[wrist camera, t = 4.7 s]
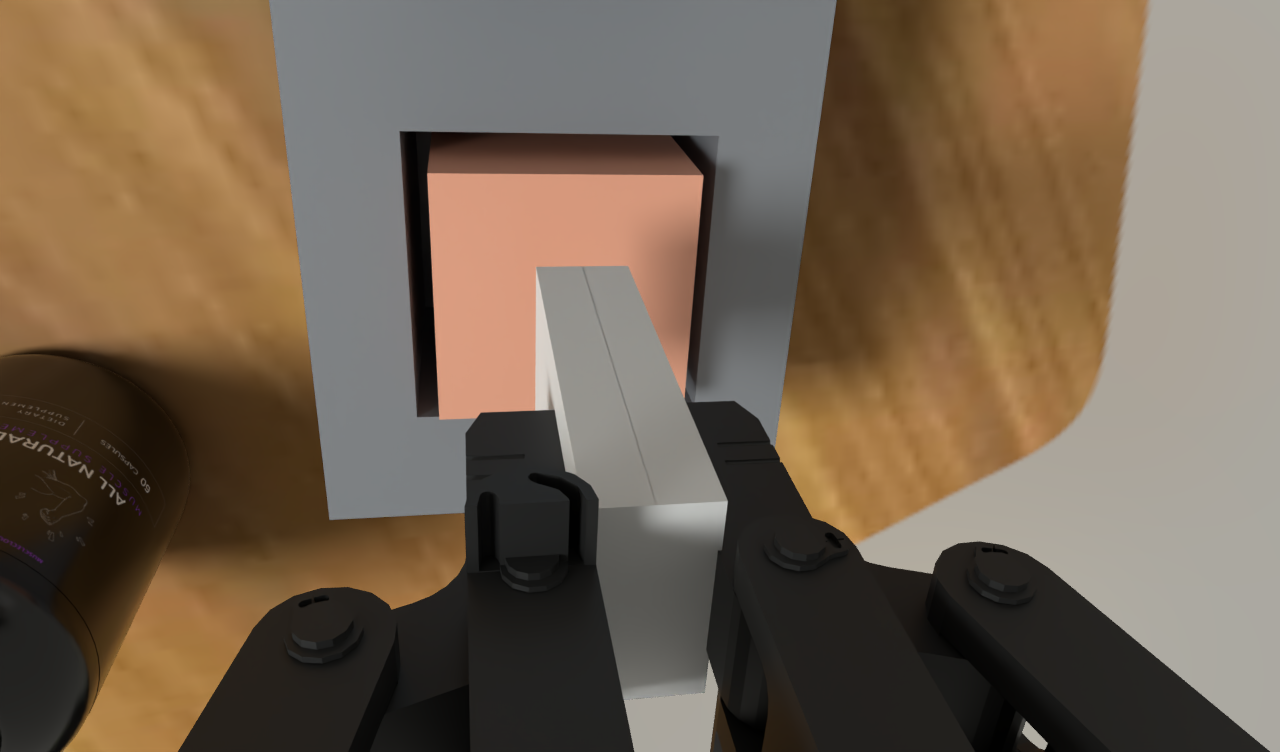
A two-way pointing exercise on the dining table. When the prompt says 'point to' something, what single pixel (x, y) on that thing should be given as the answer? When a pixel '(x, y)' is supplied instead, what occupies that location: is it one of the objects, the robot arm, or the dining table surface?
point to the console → (530, 103)
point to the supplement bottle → (75, 535)
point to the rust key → (549, 247)
